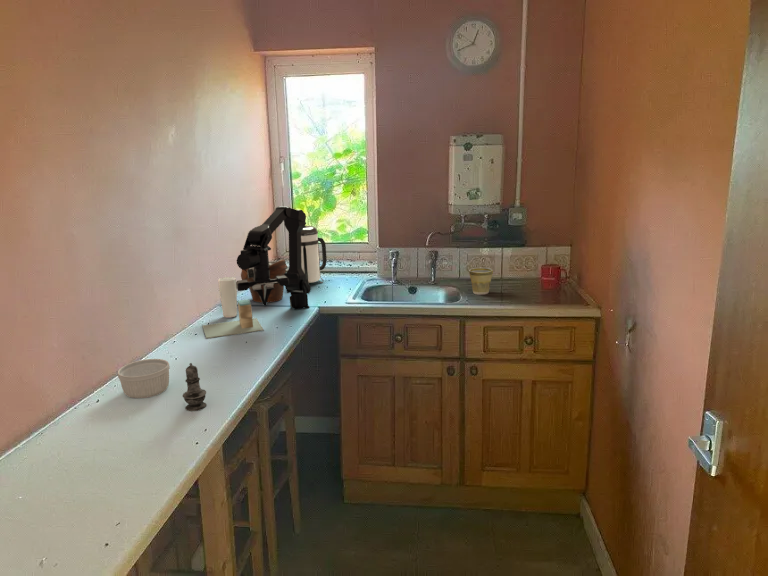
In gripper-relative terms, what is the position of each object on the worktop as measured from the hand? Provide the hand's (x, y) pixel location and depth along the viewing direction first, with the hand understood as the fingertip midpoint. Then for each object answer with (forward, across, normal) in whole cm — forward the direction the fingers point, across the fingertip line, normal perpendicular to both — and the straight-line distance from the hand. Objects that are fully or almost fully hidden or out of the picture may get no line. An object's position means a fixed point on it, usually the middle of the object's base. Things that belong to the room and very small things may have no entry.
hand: (264, 305), depth 220 cm
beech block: (+7, +7, 0) cm, 10 cm away
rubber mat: (+7, +12, 0) cm, 14 cm away
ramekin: (+7, +41, +48) cm, 64 cm away
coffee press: (+7, -31, -58) cm, 66 cm away
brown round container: (+7, -7, -37) cm, 38 cm away
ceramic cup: (+7, -94, -2) cm, 94 cm away
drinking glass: (+7, +11, -17) cm, 22 cm away
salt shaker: (+7, +29, +65) cm, 72 cm away
